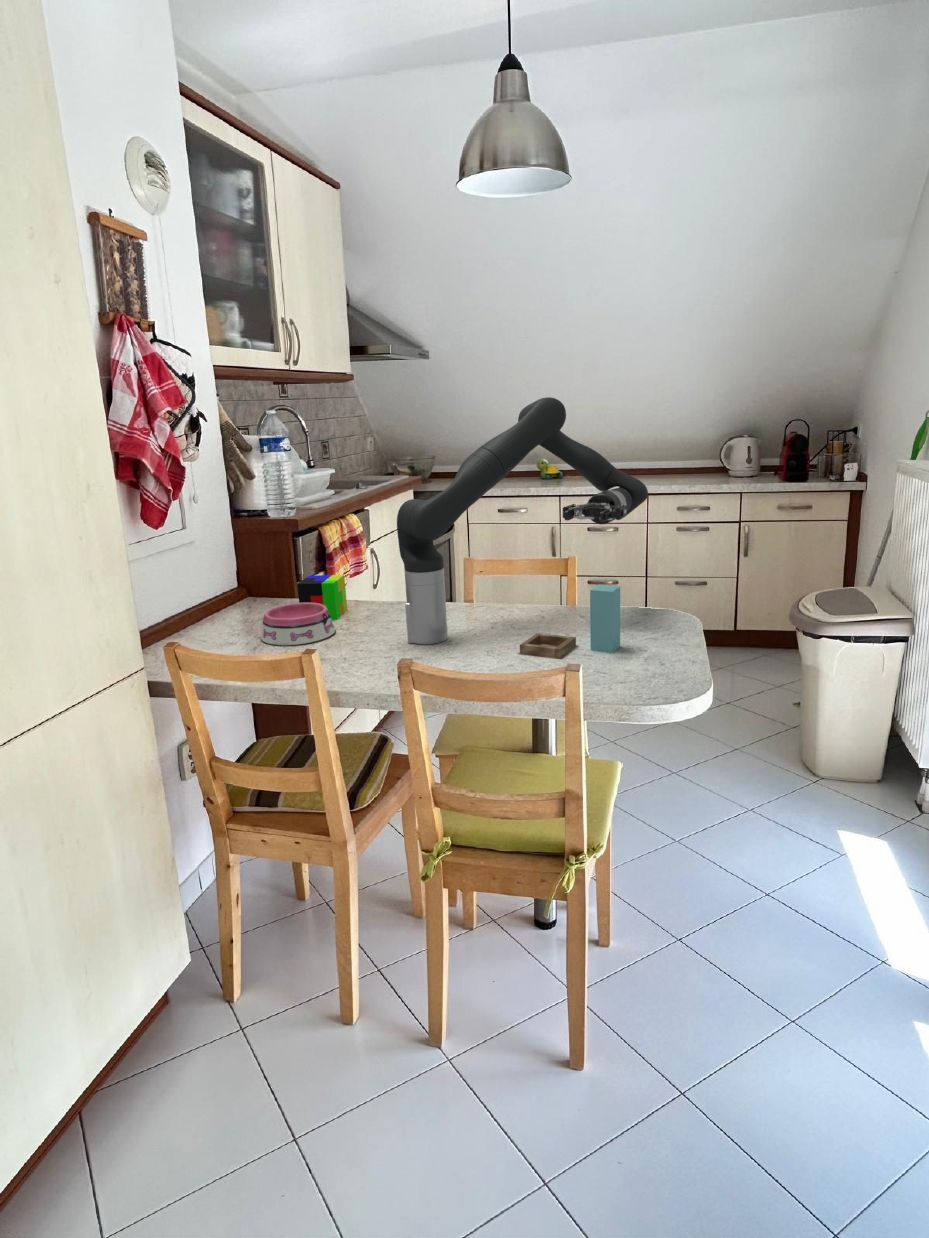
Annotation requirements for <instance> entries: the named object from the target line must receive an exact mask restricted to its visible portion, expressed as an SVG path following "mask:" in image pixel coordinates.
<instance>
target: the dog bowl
mask: <svg viewBox="0 0 929 1238" xmlns="http://www.w3.org/2000/svg"><path fill="white" fill-rule="evenodd" d="M261 629H262V630H261V635H260V642H261V643H263V644H265V645H268V646H273V647H301V646H307V645H314V644H316V643H317V644H318V643H322V642H324V641H327V640H330V639H331V638H332V637H334V636H335V635H336V634H337V630H336V628H335V625H334V623H333V621H332V620H331V616H330V613H329V612H328V609H327V607H326V606H324V605H322V604H318V603H309V602H305V603H299V602H295V603H294V602H293V603H287V604H285V603H284V604H281V605H278V606H275V607H274V606H273V607H271V608H269V609H268V610H266V611H265V612H264V614H263V619H262V628H261Z"/></svg>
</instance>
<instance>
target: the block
mask: <svg viewBox="0 0 929 1238" xmlns="http://www.w3.org/2000/svg"><path fill="white" fill-rule="evenodd" d="M589 598H590V599H589V603H590V604H589V605H590V608H589V610H590V611H589V613H590V617H589V618H590V620H589V622H590V623H589V624H590V626H589V627H590V629H589V630H590V631H589V632H590V635H589V636H590V651H595V652H602V653H610V654H611V653H614V652H615V651H616V650H618V649H619V648H620V647H621V586H620V585H619V586H618V585H603V584H597V585H596V586H594V587H593V588H591V589H590V590H589Z"/></svg>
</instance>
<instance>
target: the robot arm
mask: <svg viewBox="0 0 929 1238" xmlns="http://www.w3.org/2000/svg"><path fill="white" fill-rule="evenodd" d="M566 419H567V410H566V407H565V405H564V403H562V401H560V400H559V399H557V398H555V397H548V396H547V397H541V398H540V399H537V400H535V401H533V402H531V403H529V404H528V405H526V406H525V407H523V408H522V409H521V410H520V412H519V414H518V418H517V421H518V422H517V423H516V424H513V426H511V427H510V428H508V429H506V430H505V431H503V432H501V433H499V434H498V435H496V436H494V437H492V438H491V439H490V440H488V441H486V442H485V443H484V444H483V445H481V446H480V447H478V448H477V449H475V451H474V452H472V453H471V454H470V455H468V457H466V458H465V459H464V460H463V462H462V463H461V465H460V466H459V468H458V470H457V473H456V475H455V477H454V479H453V480H452V482H451V483H450V484H449V486H447V487H446V488H445V489H444V490H443V491H441V492H440V493H439V494H437V495H436V496H434V497H433V498H431V499H429V500H425V499H418V498H412V499H409V500H406V501H404V502H403V503H402V504H401V506H400V508H399V509H398V511H397V517H396V530H397V533H396V534H397V541H398V548H399V549H398V550H399V554H400V558H401V560H402V563H403V567H404V568H403V569H404V581H405V595H406V596H405V598H406V603H405V604H404V605H405V618H406V621H405V622H406V635H407V643H408V644H418V645H433V644H439V643H441V642H445V641H446V640H447V639H448V623H447V622H448V620H447V604H446V603H447V602H446V601H447V600H446V599H447V598H446V588H445V587H446V586H445V585H446V582H445V581H446V580H445V567H444V566H445V565H444V557H443V555H442V554H441V553H440V552H439V551H438V549H437V548H436V546H435V543H434V541H436V540H438V539H440V538H441V537H443V535H444V534H445V533H446V532H448V530H450V528H451V527H452V526H453V525H454V524H455V522H457V520H459V518H460V517H461V516H462V515H463V514H464V513H465V512H466V511H467V510H468V509H469V508H470V507H472V505H474V504H475V503H476V502H477V501H478V500H479V499H480V498H482V497H483V496H484V495H485V494H486V493H488V491H490V490H491V489H492V488H494V487H495V486H496V485H498V483H500V482H501V481H502V480H503V479H505V477H507V475H509V473H511V471H512V470H514V469H515V467H517V465H519V464H520V463H521V462H522V461H523V460H524V459H525V458H526V457H527V456H528V455H529V454H530V453H531V451H533V450H534V449H535V448H536V447H537V446H540V447H542V448H543V449H545V450H547V452H549V453H551V454H552V455H554V456H556V457H557V458H559V459H560V460H561V461H562V462H564V463H566V464H567V465H568V466H570V467H571V468H573V469H574V470H575V471H576V472H578V473H579V475H581V476H582V477H583V478H584V479H585V480H587V481H588V483H590V484H591V485H592V486H593V487H594V488H595V489H597V490H598V491H600V492H598V493H596V494H593V495H592V496H591V497H590V498H589V499H588V501H587V503H582V504H575V503H572V504H569V505H566V506H563V507H562V518H563V519H564V520H565V521H571V520H573V519H577V520H580V521H581V520H590V521H592V522H593V523H594V524H597V525H607V524H609V523H612V522H614V521H616V520H617V521H619V520H622V519H624V518H625V517H627V516H628V515H630V514H631V512H633V511H634V510H636V509H637V508H638V507H639V506H640V505H642V504H643V503H644V502H645V501H646V500H647V499H648V497H649V491H648V488H647V486H646V485H645V483H644V482H642V481H641V480H639V479H638V478H637V477H635V476H632V475H630V474H627V473H625V472H624V471H622V470H620V469H619V468H617V467H615V466H614V464H612V463H611V462H610V461H609V460H607V458H606V457H604V456H603V455H602V454H601V453H599V452H598V451H596V450H595V449H593V448H591V447H590V446H587V445H585V444H583V443H580V442H578V441H576V440H574V439H573V438H571V437H569V436H568V435H566V434H565V433H564V432H562V431H561V430H562V428H563V427H564V425H565V423H566Z"/></svg>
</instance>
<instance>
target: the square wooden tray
mask: <svg viewBox="0 0 929 1238" xmlns="http://www.w3.org/2000/svg"><path fill="white" fill-rule="evenodd" d="M578 647H579V645H578V644H577V637H576V636H567V635H557V634H548V633H547V634H546V633H539V632H537V633H535V634H534V635H532V636H531V637H529V638H528V639H527V640H525V641H523V642H522V643H521V644H519V652H518V653H517V655H519V656H520V655H521V656H529V657H537V658H546V659H555V660H562V659H564V658H565V657H567V655H569V654H570V653H572V652H573V651H574V650H575V649H576V648H578Z"/></svg>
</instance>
